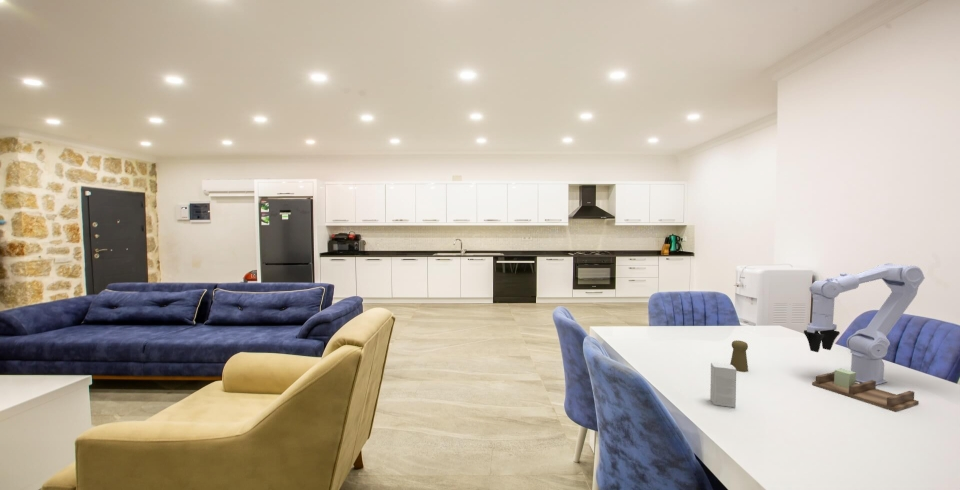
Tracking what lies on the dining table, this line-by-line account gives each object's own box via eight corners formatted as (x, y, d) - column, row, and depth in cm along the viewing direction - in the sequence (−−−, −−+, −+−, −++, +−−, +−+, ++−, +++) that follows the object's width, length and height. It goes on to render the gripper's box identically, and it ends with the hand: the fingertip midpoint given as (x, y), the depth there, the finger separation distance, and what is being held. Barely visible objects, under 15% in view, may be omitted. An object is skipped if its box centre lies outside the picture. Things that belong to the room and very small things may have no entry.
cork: (751, 372, 143) (752, 344, 143) (733, 371, 144) (734, 342, 144) (743, 366, 149) (744, 339, 149) (726, 365, 150) (727, 338, 150)
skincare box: (731, 402, 118) (732, 364, 118) (735, 408, 114) (737, 369, 114) (709, 399, 120) (710, 362, 120) (712, 405, 116) (714, 366, 116)
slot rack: (834, 379, 137) (835, 369, 137) (918, 404, 118) (919, 393, 118) (812, 384, 132) (812, 375, 132) (895, 411, 113) (896, 400, 113)
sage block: (840, 382, 132) (841, 368, 132) (855, 386, 128) (856, 372, 128) (834, 384, 130) (834, 370, 130) (848, 388, 127) (849, 374, 127)
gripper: (821, 310, 144) (819, 345, 144) (798, 312, 138) (795, 348, 139) (844, 314, 137) (842, 350, 138) (821, 316, 132) (819, 355, 132)
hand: (820, 350), depth 138 cm, fingers open, 7 cm apart
